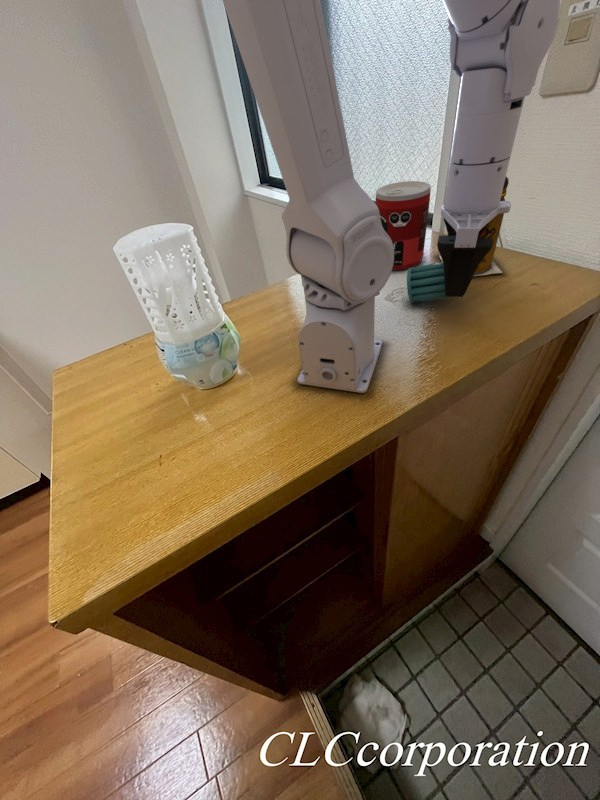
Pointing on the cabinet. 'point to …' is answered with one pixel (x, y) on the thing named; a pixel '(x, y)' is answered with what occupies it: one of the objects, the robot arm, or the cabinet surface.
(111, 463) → the cabinet surface
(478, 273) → the condiment
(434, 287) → the pencil holder
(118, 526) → the cabinet surface
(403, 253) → the canned food
